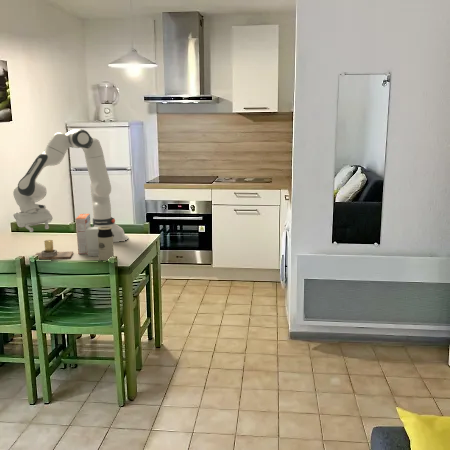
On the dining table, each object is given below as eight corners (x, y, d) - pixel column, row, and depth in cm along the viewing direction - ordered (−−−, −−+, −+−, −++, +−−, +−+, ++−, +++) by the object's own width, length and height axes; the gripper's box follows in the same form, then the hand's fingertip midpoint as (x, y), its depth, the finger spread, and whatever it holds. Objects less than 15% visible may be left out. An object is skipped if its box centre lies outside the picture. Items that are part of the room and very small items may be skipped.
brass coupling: (54, 253, 291) (53, 239, 289) (52, 255, 286) (51, 241, 285) (46, 253, 290) (45, 240, 288) (44, 255, 286) (43, 241, 284)
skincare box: (104, 252, 296) (102, 226, 293) (101, 256, 290) (100, 229, 287) (89, 253, 296) (88, 226, 293) (86, 256, 290) (85, 229, 286)
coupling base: (73, 253, 295) (72, 248, 295) (70, 258, 285) (69, 253, 284) (37, 254, 293) (36, 249, 292) (32, 260, 282) (32, 254, 281)
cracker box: (82, 247, 308) (80, 213, 303) (92, 247, 308) (90, 213, 304) (77, 254, 294) (75, 218, 290) (88, 254, 294) (85, 218, 290)
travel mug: (107, 256, 289) (106, 225, 285) (116, 259, 284) (115, 227, 280) (96, 259, 283) (94, 227, 279) (105, 262, 278) (103, 229, 274)
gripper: (13, 209, 286) (23, 229, 282) (47, 204, 301) (57, 223, 297) (10, 216, 290) (20, 236, 286) (44, 211, 305) (54, 230, 301)
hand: (39, 229), depth 291 cm, fingers open, 8 cm apart
